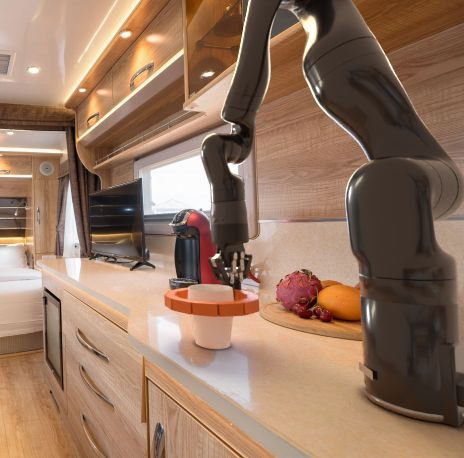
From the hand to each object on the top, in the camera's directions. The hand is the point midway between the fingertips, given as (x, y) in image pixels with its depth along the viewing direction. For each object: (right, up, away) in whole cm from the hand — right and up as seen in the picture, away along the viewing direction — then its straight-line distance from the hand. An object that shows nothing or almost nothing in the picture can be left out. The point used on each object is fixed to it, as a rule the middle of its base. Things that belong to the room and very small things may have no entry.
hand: (233, 299), depth 74 cm
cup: (-7, -9, -4) cm, 12 cm away
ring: (-7, -1, -4) cm, 8 cm away
